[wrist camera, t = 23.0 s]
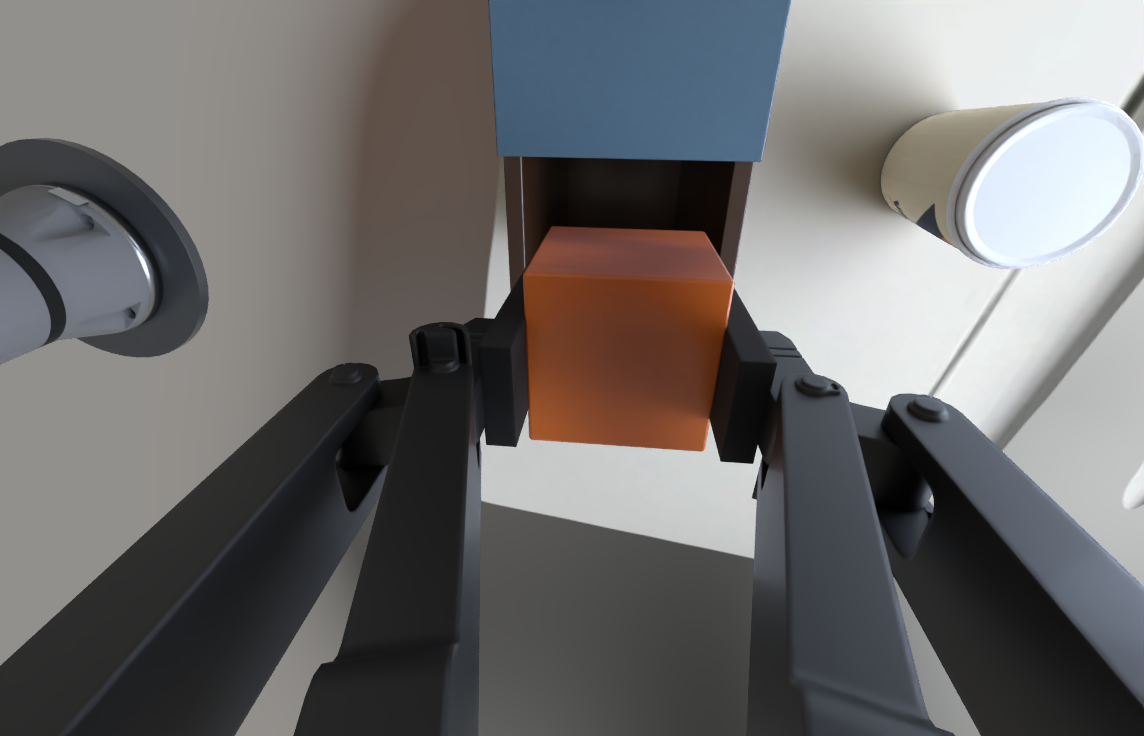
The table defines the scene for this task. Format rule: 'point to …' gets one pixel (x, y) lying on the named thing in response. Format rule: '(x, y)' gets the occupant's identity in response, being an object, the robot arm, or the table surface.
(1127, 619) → the robot arm
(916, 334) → the table surface
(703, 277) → the block
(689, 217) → the box
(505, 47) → the sliding lid
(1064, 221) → the coffee cup
